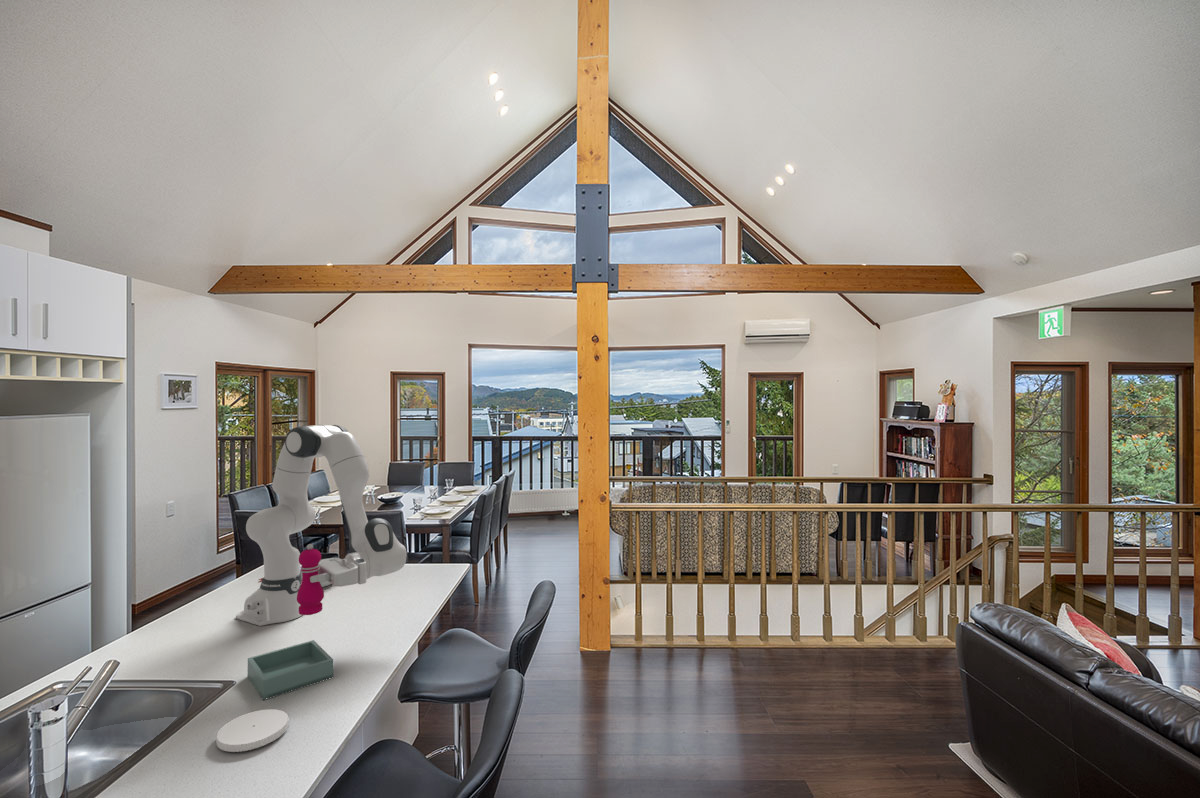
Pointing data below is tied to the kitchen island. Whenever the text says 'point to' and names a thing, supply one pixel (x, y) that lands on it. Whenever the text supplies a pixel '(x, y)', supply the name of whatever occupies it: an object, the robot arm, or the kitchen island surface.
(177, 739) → the kitchen island surface
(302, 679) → the tote
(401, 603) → the kitchen island surface
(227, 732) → the plastic lid
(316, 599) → the pepper mill
